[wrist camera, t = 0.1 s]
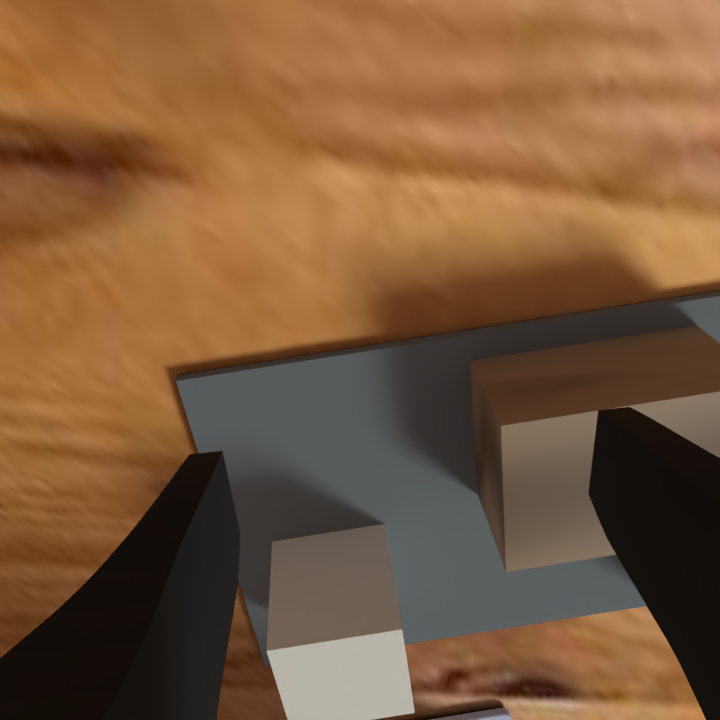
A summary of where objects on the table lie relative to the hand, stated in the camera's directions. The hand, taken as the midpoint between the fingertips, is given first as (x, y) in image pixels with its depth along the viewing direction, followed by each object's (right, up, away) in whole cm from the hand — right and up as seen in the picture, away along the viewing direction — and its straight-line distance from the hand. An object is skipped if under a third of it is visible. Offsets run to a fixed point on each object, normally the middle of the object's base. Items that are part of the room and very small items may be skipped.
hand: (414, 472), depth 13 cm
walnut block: (+7, 0, +11) cm, 14 cm away
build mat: (+5, -3, +13) cm, 15 cm away
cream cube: (-2, -7, +14) cm, 16 cm away
